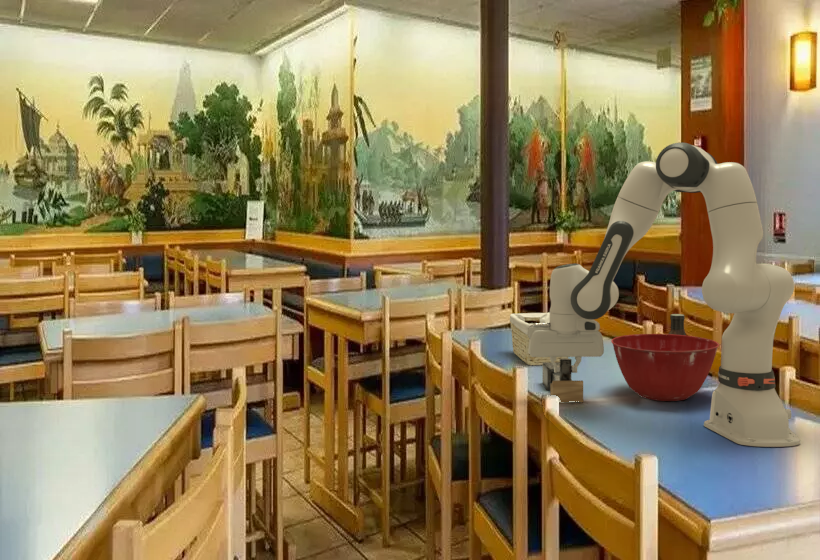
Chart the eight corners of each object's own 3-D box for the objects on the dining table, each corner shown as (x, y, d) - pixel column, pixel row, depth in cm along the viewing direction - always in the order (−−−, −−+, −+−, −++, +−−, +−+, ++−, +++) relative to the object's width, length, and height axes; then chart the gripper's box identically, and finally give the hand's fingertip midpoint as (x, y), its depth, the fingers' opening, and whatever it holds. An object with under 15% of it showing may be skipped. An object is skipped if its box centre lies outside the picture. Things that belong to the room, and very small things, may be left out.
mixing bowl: (590, 388, 216) (591, 336, 215) (671, 379, 226) (672, 329, 224) (652, 413, 190) (653, 354, 188) (741, 402, 199) (742, 345, 198)
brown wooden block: (583, 403, 200) (583, 381, 200) (552, 403, 201) (552, 381, 200) (580, 399, 204) (580, 377, 204) (550, 399, 205) (550, 378, 204)
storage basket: (572, 365, 248) (572, 322, 246) (524, 367, 246) (525, 323, 244) (551, 351, 271) (552, 311, 270) (508, 353, 270) (508, 313, 268)
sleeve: (570, 390, 214) (571, 369, 214) (547, 390, 214) (547, 369, 214) (565, 382, 223) (565, 362, 223) (542, 383, 224) (542, 362, 223)
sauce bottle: (688, 382, 223) (690, 316, 221) (667, 381, 224) (668, 316, 222) (685, 377, 229) (687, 313, 227) (664, 376, 230) (665, 313, 228)
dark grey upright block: (573, 396, 202) (574, 361, 201) (559, 397, 202) (559, 361, 201) (565, 385, 215) (565, 351, 214) (551, 385, 215) (552, 352, 214)
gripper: (529, 325, 200) (529, 375, 201) (605, 324, 199) (605, 374, 200) (526, 321, 206) (526, 370, 207) (600, 320, 205) (599, 369, 207)
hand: (565, 372), depth 204 cm, fingers closed on dark grey upright block, 3 cm apart
